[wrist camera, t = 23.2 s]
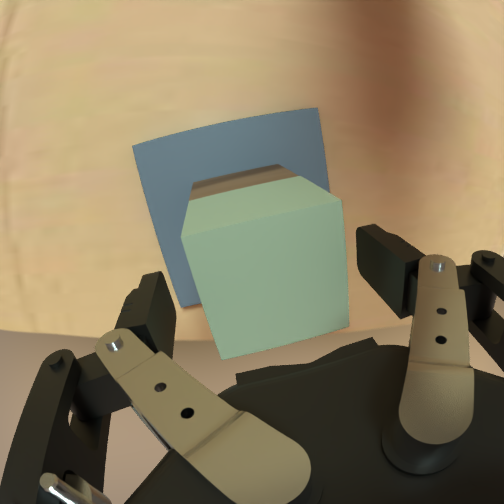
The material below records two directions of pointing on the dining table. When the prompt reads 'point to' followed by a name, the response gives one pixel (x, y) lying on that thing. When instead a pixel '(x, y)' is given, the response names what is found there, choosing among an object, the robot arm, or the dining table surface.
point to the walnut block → (239, 180)
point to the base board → (220, 171)
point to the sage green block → (268, 264)
